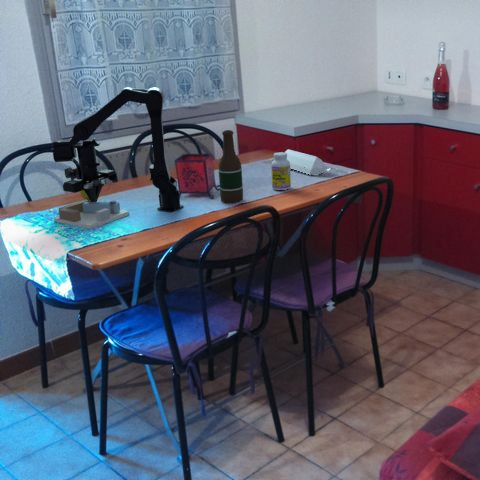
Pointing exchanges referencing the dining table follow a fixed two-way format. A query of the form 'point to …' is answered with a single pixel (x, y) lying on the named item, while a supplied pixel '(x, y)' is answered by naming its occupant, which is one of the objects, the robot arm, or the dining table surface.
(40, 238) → the dining table surface
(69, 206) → the seat
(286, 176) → the supplement bottle
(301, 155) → the white triangular prism
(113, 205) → the leg
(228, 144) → the beer bottle
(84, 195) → the lemon
